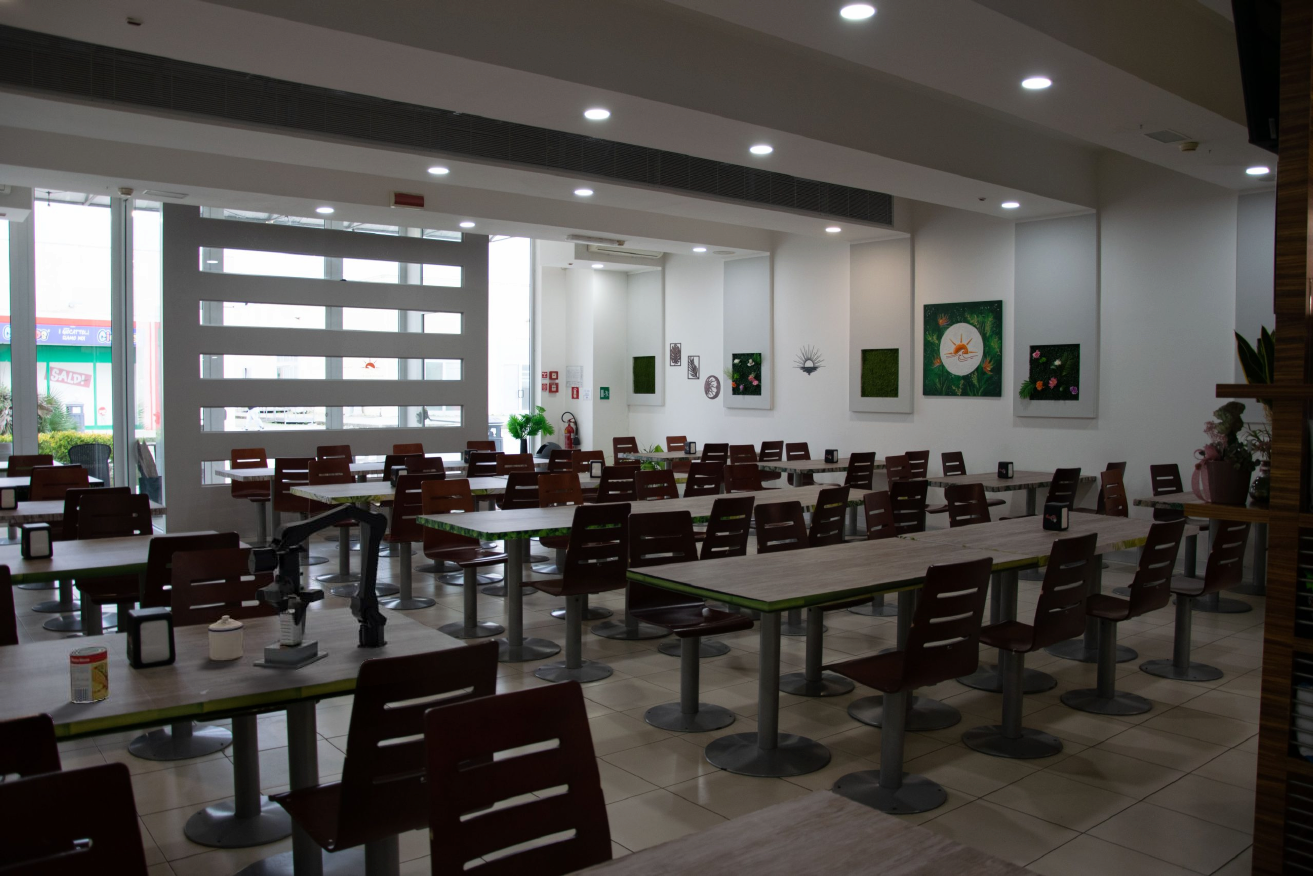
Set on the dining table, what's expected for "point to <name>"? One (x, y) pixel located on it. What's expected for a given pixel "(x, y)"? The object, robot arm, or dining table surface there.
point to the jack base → (291, 655)
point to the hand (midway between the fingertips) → (290, 625)
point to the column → (289, 628)
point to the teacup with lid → (226, 639)
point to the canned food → (89, 674)
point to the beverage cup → (290, 606)
